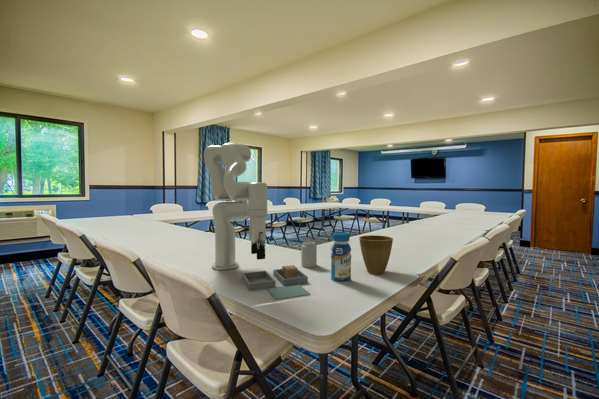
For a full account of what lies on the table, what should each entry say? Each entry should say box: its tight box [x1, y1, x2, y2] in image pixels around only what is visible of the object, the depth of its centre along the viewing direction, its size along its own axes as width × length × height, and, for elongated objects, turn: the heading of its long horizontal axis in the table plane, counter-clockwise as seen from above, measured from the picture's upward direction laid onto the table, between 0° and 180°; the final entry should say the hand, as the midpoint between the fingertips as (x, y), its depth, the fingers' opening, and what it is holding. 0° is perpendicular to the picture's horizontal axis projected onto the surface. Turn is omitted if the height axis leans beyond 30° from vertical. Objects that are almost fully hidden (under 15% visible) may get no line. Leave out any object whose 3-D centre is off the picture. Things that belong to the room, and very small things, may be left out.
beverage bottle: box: [330, 231, 352, 284], centre depth 117 cm, size 8×8×20 cm
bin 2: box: [272, 268, 309, 286], centre depth 118 cm, size 14×10×3 cm
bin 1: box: [241, 270, 276, 292], centre depth 113 cm, size 14×10×3 cm
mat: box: [266, 284, 311, 301], centre depth 104 cm, size 11×13×1 cm
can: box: [300, 241, 318, 269], centre depth 138 cm, size 8×8×12 cm
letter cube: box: [281, 264, 299, 279], centre depth 118 cm, size 5×5×5 cm
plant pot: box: [358, 234, 394, 275], centre depth 130 cm, size 15×15×16 cm
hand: (257, 256), depth 113 cm, fingers open, 9 cm apart
